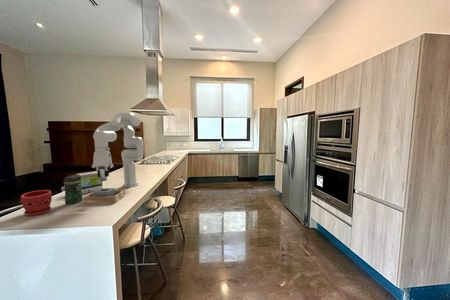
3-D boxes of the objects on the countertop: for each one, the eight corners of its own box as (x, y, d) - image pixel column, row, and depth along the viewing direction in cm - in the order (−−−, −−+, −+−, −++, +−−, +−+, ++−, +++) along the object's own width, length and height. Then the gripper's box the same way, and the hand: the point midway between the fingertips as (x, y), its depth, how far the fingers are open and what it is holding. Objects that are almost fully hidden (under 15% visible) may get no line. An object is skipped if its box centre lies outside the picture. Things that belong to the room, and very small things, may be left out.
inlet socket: (102, 198, 144) (101, 188, 143) (115, 197, 144) (114, 188, 144) (94, 202, 135) (93, 192, 134) (108, 202, 136) (108, 191, 135)
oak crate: (96, 198, 146) (95, 191, 146) (124, 197, 147) (124, 190, 147) (83, 205, 132) (83, 197, 132) (115, 204, 133) (115, 196, 133)
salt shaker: (101, 179, 140) (101, 165, 139) (108, 179, 140) (108, 165, 140) (98, 181, 136) (97, 166, 135) (105, 181, 136) (104, 166, 135)
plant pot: (16, 217, 115) (14, 196, 114) (40, 208, 128) (38, 189, 127) (36, 218, 113) (34, 197, 112) (58, 209, 126) (57, 190, 125)
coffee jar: (75, 205, 132) (73, 177, 130) (62, 205, 132) (60, 177, 130) (85, 200, 142) (83, 173, 140) (73, 200, 141) (71, 174, 140)
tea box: (81, 194, 155) (80, 175, 154) (77, 192, 161) (75, 173, 160) (103, 189, 167) (101, 171, 166) (97, 187, 173) (96, 170, 172)
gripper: (117, 149, 141) (118, 175, 142) (92, 149, 140) (93, 175, 141) (111, 149, 133) (113, 177, 135) (85, 150, 132) (87, 178, 134)
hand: (103, 176), depth 138 cm, fingers closed on salt shaker, 4 cm apart
